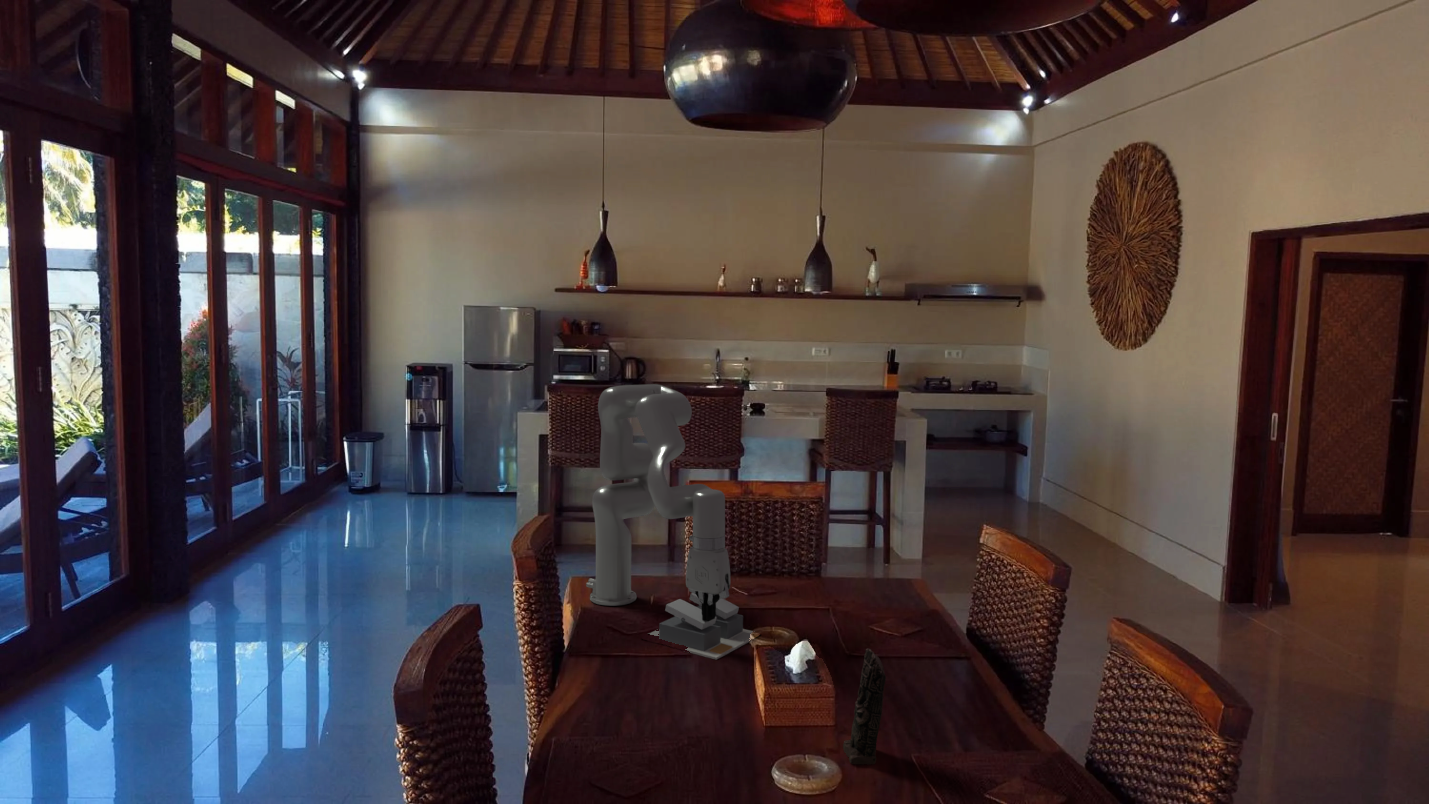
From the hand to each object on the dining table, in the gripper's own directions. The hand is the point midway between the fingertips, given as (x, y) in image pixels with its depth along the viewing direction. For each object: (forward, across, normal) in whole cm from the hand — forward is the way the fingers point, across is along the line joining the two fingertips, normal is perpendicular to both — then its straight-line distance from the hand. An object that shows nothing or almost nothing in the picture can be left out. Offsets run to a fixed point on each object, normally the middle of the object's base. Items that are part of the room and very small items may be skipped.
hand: (708, 619), depth 233 cm
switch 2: (0, -6, +10) cm, 12 cm away
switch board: (+7, -6, +5) cm, 10 cm away
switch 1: (0, -6, 0) cm, 6 cm away
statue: (+9, +53, -28) cm, 61 cm away
